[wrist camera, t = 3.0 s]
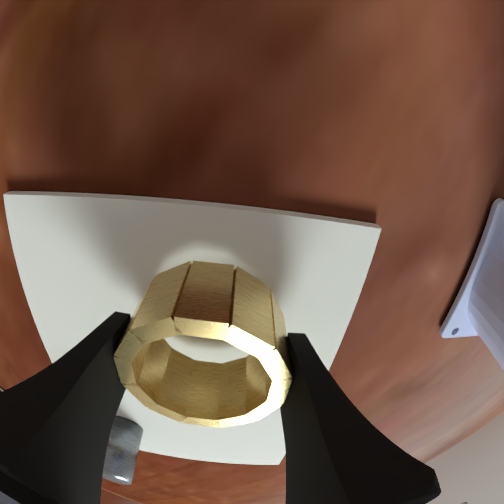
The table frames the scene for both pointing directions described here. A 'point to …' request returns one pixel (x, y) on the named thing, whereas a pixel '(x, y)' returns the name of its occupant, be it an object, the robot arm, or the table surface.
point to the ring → (207, 326)
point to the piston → (122, 450)
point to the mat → (174, 254)
